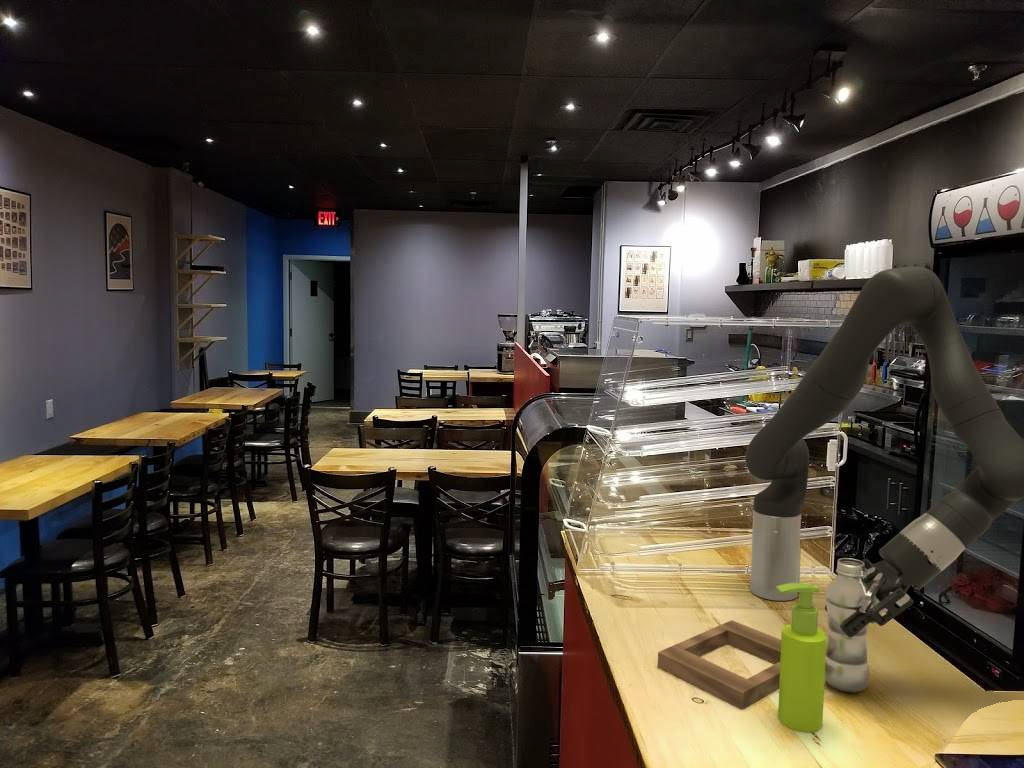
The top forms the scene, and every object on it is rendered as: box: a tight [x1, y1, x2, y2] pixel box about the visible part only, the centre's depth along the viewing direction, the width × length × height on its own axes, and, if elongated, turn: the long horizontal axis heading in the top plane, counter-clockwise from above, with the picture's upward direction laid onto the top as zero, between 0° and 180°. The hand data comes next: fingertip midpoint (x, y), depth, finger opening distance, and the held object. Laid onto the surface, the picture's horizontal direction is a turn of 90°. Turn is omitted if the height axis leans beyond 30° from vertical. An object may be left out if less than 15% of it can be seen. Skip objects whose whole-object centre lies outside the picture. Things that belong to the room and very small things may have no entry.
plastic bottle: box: [824, 557, 873, 693], centre depth 111 cm, size 6×7×20 cm
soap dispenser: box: [776, 582, 828, 733], centre depth 102 cm, size 6×7×20 cm
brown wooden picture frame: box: [657, 619, 781, 710], centre depth 118 cm, size 20×16×2 cm
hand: (836, 622), depth 112 cm, fingers closed on plastic bottle, 6 cm apart
